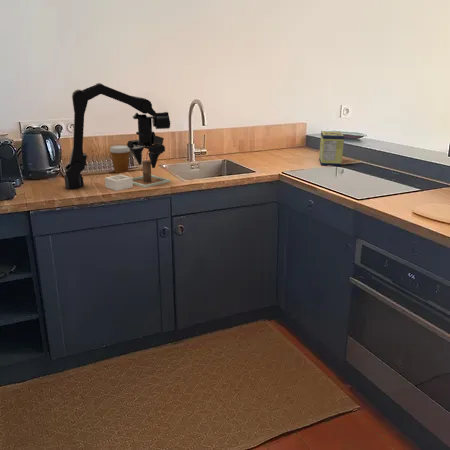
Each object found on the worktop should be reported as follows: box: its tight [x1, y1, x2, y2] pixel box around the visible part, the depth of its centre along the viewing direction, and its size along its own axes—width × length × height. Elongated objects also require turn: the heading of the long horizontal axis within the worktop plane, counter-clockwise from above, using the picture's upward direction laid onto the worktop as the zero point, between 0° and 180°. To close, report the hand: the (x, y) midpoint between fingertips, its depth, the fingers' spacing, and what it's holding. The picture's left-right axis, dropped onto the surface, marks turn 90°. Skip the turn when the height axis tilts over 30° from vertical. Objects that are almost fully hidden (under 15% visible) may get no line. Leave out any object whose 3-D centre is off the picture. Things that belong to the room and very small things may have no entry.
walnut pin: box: [142, 160, 152, 184], centre depth 204 cm, size 4×4×9 cm
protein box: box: [318, 130, 345, 167], centre depth 246 cm, size 10×16×16 cm
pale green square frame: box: [132, 174, 171, 189], centre depth 205 cm, size 14×14×2 cm
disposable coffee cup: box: [109, 144, 131, 174], centre depth 223 cm, size 10×10×12 cm
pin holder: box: [104, 173, 134, 192], centre depth 195 cm, size 8×8×5 cm
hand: (146, 166), depth 203 cm, fingers open, 9 cm apart
